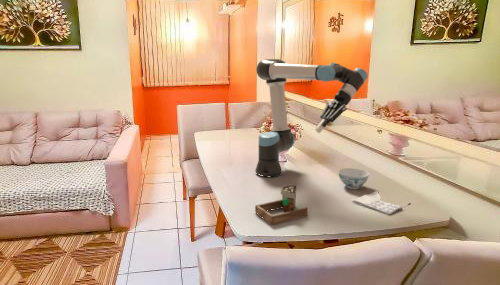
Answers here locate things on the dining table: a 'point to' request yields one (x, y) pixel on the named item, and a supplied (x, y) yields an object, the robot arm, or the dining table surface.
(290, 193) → the food container
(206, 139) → the dining table surface
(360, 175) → the chinaware
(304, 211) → the caddy
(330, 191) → the dining table surface
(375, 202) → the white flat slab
